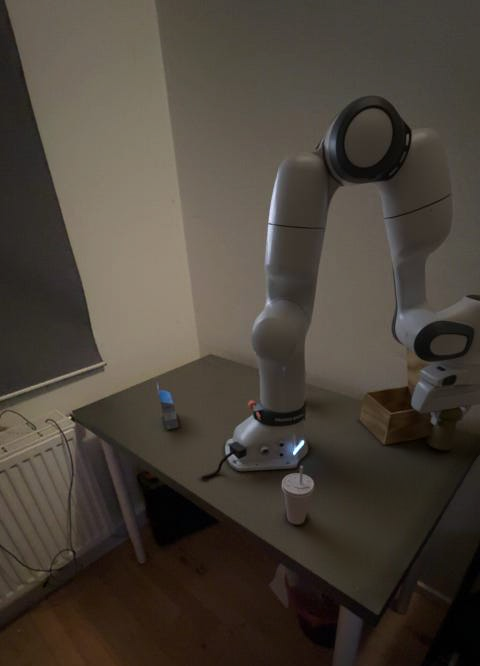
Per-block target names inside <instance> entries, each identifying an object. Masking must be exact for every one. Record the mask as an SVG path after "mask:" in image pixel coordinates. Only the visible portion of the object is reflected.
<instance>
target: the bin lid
mask: <svg viewBox="0 0 480 666" xmlns="http://www.w3.org/2000/svg"><path fill="white" fill-rule="evenodd" d="M405 350H406V371H407V372H406V373H407V374H406V376H407V386H410V387H412V388H413V389H415V387H416V385H417V383H418V381H419V380H421V379H422V377H420V371H421V369H423V368H424V367H427V366H429V365H431V364H433V363H435V362H427V361H424V360H422V359H420V358H418V357H417V356H416V355H414V354H413V353H412V352H411V351H410V350H409V349H407V348H406V347H405Z"/></svg>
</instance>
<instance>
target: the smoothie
mask: <svg viewBox="0 0 480 666" xmlns="http://www.w3.org/2000/svg"><path fill="white" fill-rule="evenodd" d="M281 490H282V492H283V496H284V502H285V511H286V517H287V520H288V522H289V523H291V524H293V525H301V524H303V523H304V522H305V520H306V518H307V514H308V509H309V506H310V502H311V497H312V494H313V493H314V491H315V481H314V480H313V479H312V478H311V476H310V475H308V474H304V465H300V466H299V472H293V473H290V474H287V475H285V476H284V477H283V478H282V481H281Z"/></svg>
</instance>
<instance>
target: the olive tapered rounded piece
mask: <svg viewBox="0 0 480 666" xmlns="http://www.w3.org/2000/svg"><path fill="white" fill-rule="evenodd" d="M438 415H439V417H441V418H442V421H441V424H438V425H434V426H433V429H432V431H431V433H430V435H429V437H427V439H426V443H427V444H428V445H429V446H430V447H432V448H434V449H437V450H440V451H441V450H442V451H447V450H452V449H453V448H454V442H455V436H456V429H457V423H458V421H457V420H458V419H459V418H460V417H461V415H462V410H461V408H460V407H459V408H453V409H447V410H441V413H440V414H438Z"/></svg>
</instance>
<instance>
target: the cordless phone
mask: <svg viewBox="0 0 480 666" xmlns="http://www.w3.org/2000/svg"><path fill="white" fill-rule="evenodd" d="M156 385H157V393H158V398H159V402H160V407H161V412H162V416H163V420H164V424H165V428H166V430H167V431H169V430H174V429H177V428H179V422H178V417H177V413H176V408H175V403H174V400H173V397H172V393H171V391H167V390H162V389H159V382H157V383H156Z"/></svg>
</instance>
